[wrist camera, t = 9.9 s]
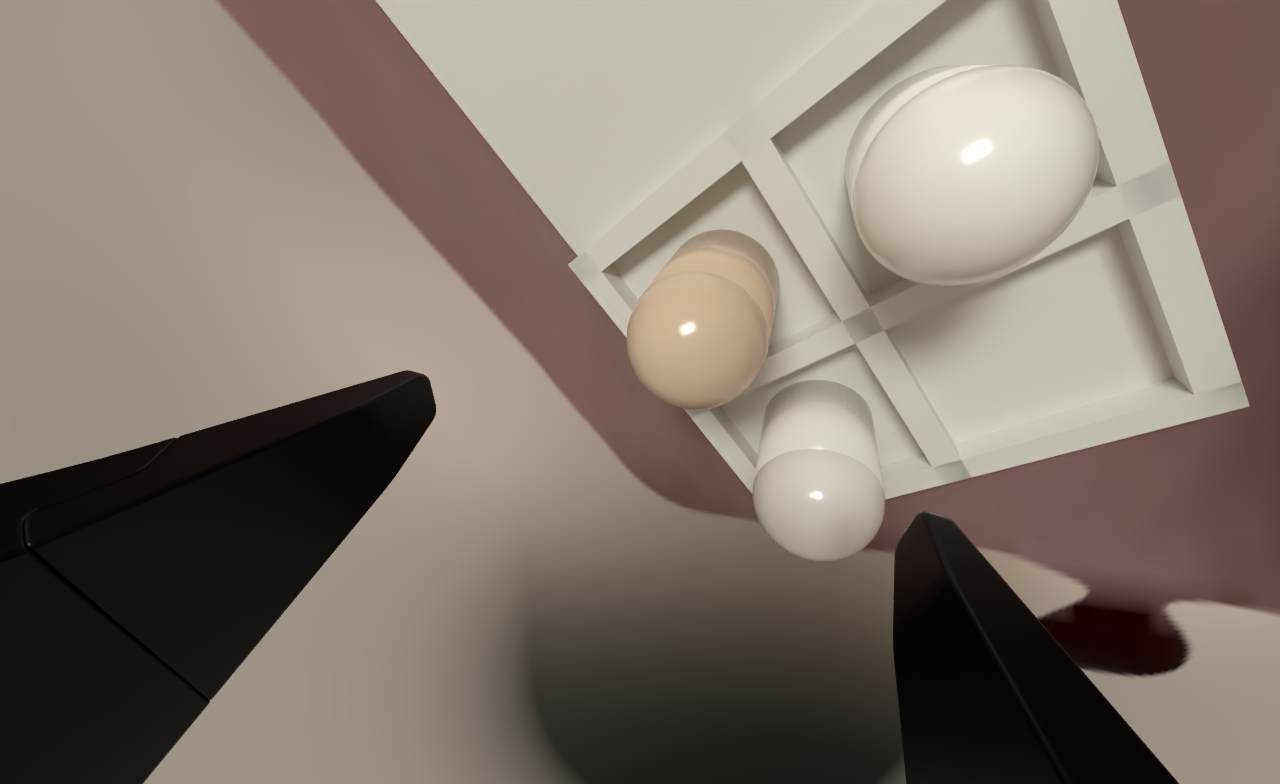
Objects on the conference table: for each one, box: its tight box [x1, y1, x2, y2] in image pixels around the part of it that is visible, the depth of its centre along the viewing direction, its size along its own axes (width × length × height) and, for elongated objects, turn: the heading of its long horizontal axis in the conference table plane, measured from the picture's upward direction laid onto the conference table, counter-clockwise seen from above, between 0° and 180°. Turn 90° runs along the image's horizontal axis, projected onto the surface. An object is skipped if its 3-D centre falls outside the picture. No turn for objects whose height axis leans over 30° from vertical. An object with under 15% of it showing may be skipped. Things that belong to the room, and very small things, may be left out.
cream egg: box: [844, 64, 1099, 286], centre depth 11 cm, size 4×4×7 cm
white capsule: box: [753, 380, 885, 562], centre depth 17 cm, size 4×4×7 cm
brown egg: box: [627, 229, 779, 410], centre depth 15 cm, size 4×4×7 cm
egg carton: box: [376, 0, 1250, 499], centre depth 14 cm, size 32×16×2 cm, turn 39°
